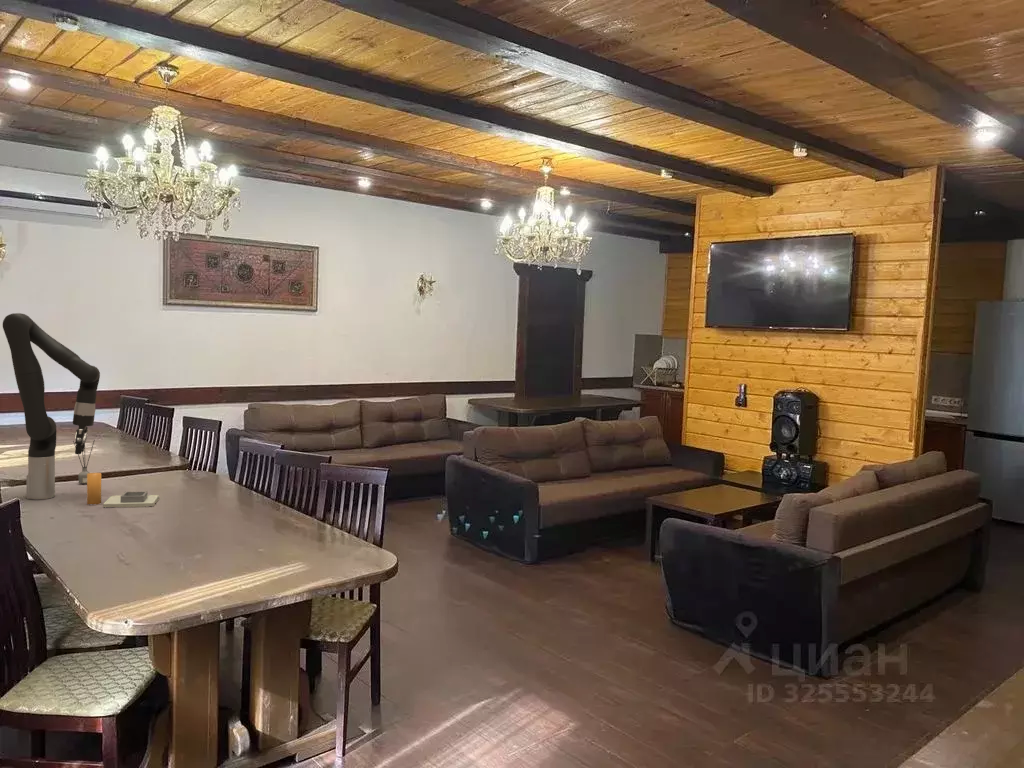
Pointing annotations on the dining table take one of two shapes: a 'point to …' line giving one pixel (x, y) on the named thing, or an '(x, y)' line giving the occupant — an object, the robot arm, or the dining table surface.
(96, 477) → the orange cylinder
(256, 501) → the dining table surface
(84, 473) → the reed diffuser
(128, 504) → the cream slab
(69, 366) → the robot arm
